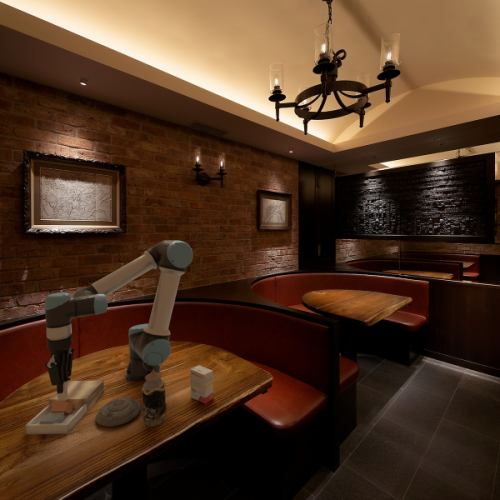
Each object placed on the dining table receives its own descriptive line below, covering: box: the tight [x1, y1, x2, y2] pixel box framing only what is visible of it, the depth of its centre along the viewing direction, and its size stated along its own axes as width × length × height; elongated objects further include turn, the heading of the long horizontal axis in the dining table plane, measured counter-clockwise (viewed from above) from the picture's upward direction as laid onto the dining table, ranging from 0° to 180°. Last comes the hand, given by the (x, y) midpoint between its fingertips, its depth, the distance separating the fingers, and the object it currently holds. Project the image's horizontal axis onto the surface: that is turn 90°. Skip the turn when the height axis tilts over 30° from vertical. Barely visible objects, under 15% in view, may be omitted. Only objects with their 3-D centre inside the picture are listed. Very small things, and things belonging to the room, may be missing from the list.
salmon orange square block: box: [50, 402, 74, 414], centre depth 103 cm, size 5×5×3 cm
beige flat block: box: [48, 380, 105, 412], centre depth 113 cm, size 14×13×5 cm
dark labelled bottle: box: [140, 352, 168, 427], centre depth 101 cm, size 9×8×25 cm
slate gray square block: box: [39, 412, 64, 424], centre depth 98 cm, size 5×5×3 cm
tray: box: [24, 404, 88, 435], centre depth 100 cm, size 14×12×3 cm
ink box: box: [189, 364, 214, 405], centre depth 114 cm, size 9×5×12 cm, turn 54°
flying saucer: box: [95, 397, 142, 428], centre depth 104 cm, size 15×15×6 cm
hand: (62, 399), depth 103 cm, fingers closed
